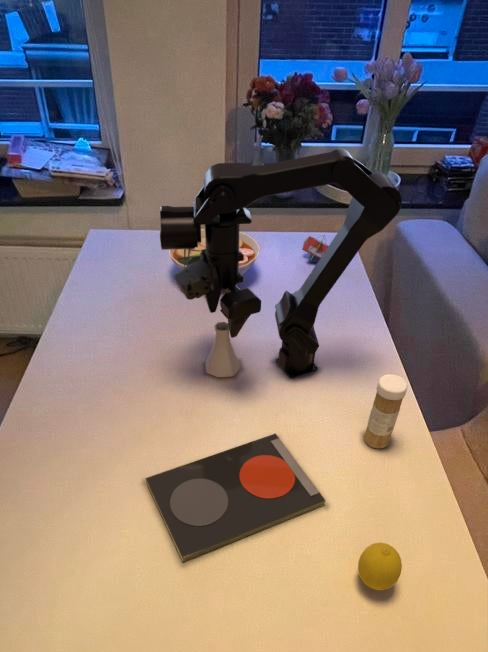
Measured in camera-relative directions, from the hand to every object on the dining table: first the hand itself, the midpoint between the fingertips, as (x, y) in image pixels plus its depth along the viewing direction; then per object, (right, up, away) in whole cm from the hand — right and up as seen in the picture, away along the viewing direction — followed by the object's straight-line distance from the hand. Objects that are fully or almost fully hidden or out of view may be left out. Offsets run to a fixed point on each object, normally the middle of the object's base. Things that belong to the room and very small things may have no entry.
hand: (222, 324), depth 100 cm
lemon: (+21, -41, -26) cm, 53 cm away
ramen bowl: (-2, +18, +35) cm, 39 cm away
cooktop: (+2, -30, -16) cm, 34 cm away
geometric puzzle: (+25, +24, +41) cm, 53 cm away
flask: (0, -8, +8) cm, 11 cm away
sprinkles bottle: (+27, -22, -7) cm, 36 cm away
